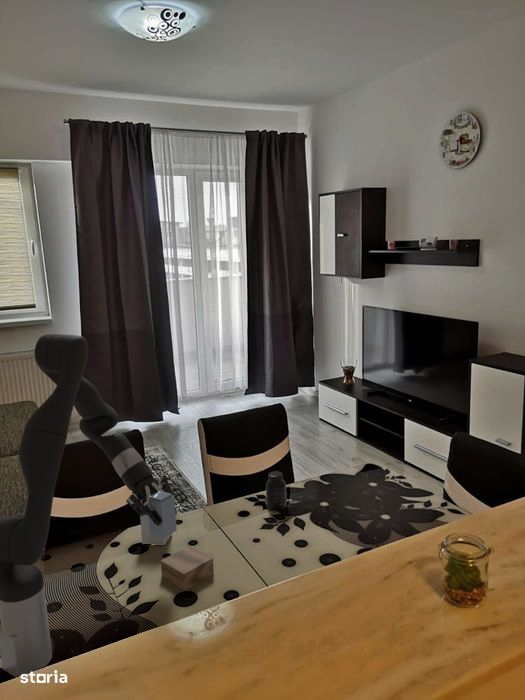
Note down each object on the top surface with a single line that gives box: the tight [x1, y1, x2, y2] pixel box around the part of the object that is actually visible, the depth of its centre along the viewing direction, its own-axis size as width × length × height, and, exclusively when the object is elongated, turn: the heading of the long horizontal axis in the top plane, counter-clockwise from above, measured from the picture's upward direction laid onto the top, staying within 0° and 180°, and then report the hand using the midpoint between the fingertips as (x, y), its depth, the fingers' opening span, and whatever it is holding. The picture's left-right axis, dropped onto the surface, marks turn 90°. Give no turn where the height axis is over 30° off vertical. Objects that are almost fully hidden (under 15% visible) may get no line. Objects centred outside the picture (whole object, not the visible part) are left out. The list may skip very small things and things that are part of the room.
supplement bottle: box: [265, 470, 288, 512], centre depth 192 cm, size 7×7×12 cm
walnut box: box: [160, 545, 215, 591], centre depth 153 cm, size 10×10×5 cm
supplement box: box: [139, 515, 173, 545], centre depth 172 cm, size 7×7×13 cm
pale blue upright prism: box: [149, 491, 178, 539], centre depth 150 cm, size 5×5×11 cm
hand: (167, 519), depth 150 cm, fingers closed on pale blue upright prism, 5 cm apart
